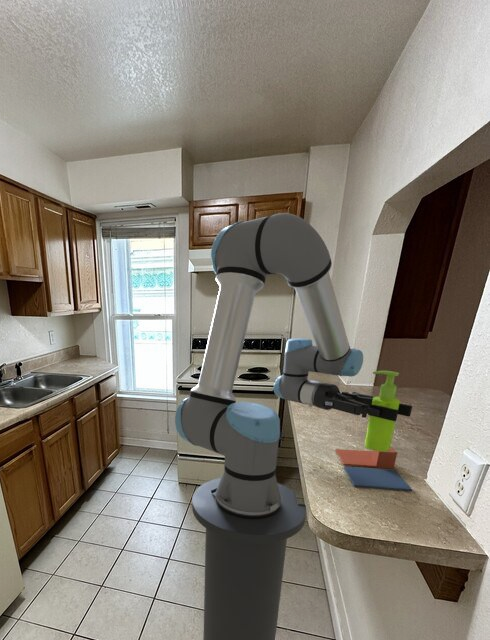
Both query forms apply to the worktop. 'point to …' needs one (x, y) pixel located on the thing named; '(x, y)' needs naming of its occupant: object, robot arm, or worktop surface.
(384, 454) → the terracotta block
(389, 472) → the slate mat
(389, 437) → the soap dispenser
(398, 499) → the worktop surface
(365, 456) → the terracotta mat
